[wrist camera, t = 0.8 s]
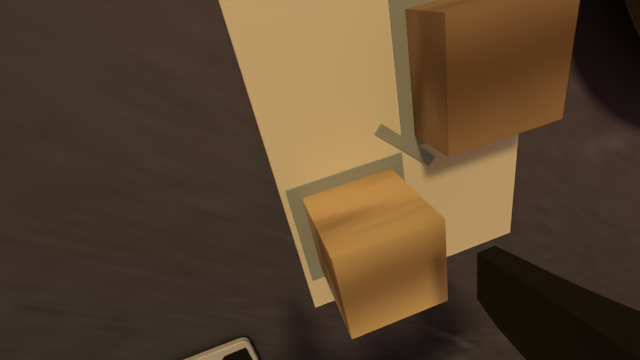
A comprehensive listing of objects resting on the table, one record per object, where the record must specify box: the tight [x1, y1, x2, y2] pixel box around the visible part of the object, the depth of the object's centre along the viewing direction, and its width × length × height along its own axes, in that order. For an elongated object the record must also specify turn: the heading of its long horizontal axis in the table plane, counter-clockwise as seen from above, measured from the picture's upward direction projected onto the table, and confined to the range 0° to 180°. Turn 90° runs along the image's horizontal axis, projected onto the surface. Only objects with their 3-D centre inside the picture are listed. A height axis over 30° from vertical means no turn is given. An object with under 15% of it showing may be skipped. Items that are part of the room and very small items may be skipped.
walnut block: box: [405, 0, 580, 157], centre depth 16 cm, size 6×6×3 cm
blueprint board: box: [218, 0, 518, 308], centre depth 19 cm, size 18×14×1 cm
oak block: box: [302, 169, 448, 339], centre depth 18 cm, size 5×5×5 cm
